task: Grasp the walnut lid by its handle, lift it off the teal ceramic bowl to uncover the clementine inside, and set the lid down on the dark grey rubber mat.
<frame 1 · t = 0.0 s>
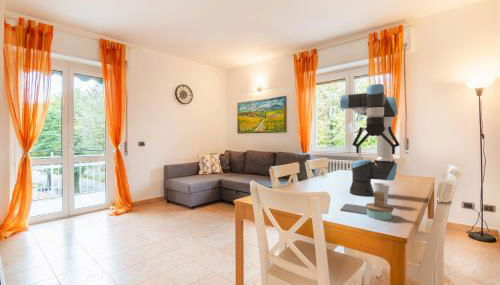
hand: (374, 160, 118), 28 cm above the table, fingers open, 13 cm apart
mat: (355, 209, 132), on the table
lid: (379, 208, 121), point 4 cm above the table, touching bowl
clementine: (379, 211, 121), point 2 cm above the table, touching bowl
bowl: (379, 216, 121), on the table
cup: (381, 205, 140), on the table
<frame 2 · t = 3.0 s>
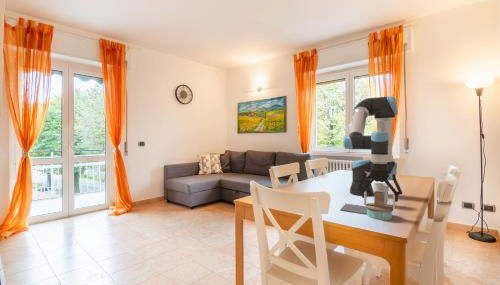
hand: (379, 206, 121), 5 cm above the table, fingers closed on lid, 12 cm apart
lid: (379, 208, 121), point 4 cm above the table, touching bowl, gripper
everything else where it was.
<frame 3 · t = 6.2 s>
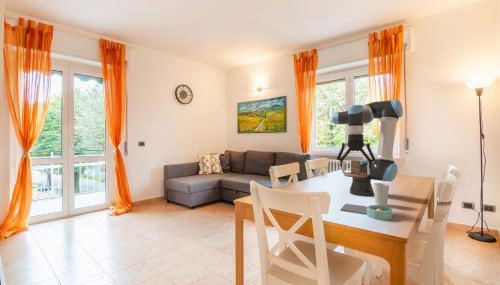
hand: (355, 173, 132), 19 cm above the table, fingers closed on lid, 12 cm apart
lid: (355, 175, 132), point 18 cm above the table, touching gripper
everything else where it was.
when the fingers open (3 cm above the table, at t = 9.7 s): lid drops 1 cm, resting on mat.
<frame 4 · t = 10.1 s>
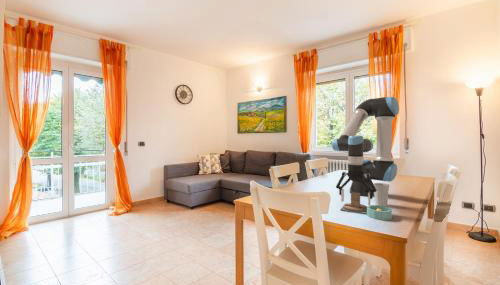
hand: (355, 202, 132), 4 cm above the table, fingers open, 13 cm apart
lid: (355, 208, 132), point 1 cm above the table, touching mat
everything else where it was.
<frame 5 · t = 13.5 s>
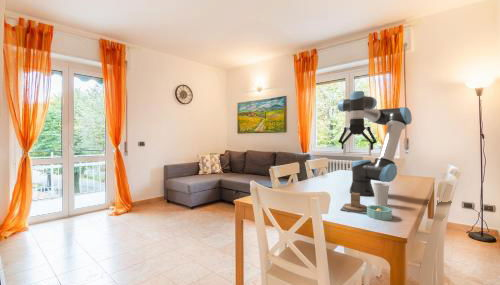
hand: (356, 155, 140), 29 cm above the table, fingers open, 13 cm apart
nothing on the table moved.
at the end: lid inside the target area on the mat (0.0 cm from its centre), point 0.6 cm above the mat's base; lid tilted 0°; lid touching mat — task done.
